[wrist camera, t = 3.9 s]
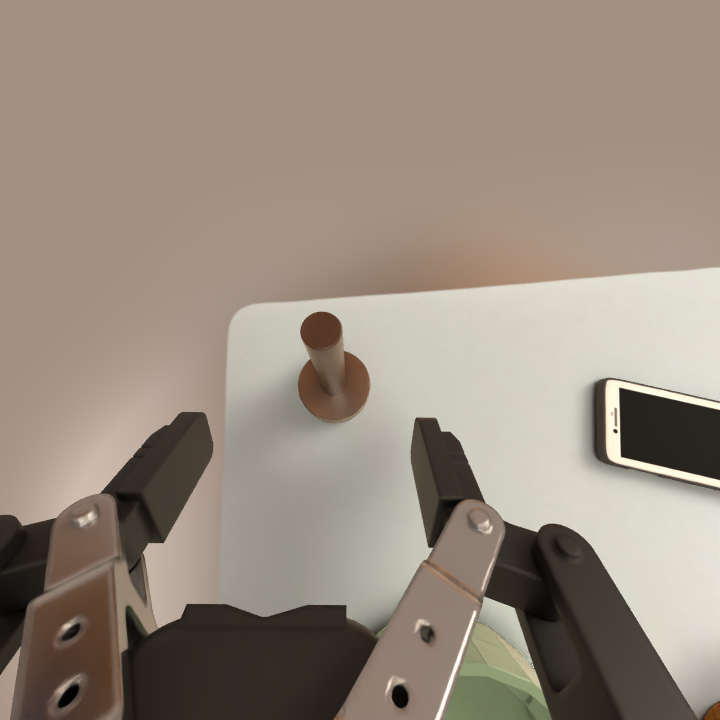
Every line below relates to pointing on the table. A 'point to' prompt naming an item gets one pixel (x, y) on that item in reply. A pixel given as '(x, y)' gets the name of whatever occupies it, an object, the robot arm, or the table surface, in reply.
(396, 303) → the table surface
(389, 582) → the table surface
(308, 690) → the robot arm
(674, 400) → the cell phone
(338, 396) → the wooden rod on disc
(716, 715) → the disposable coffee cup
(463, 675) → the mixing bowl
